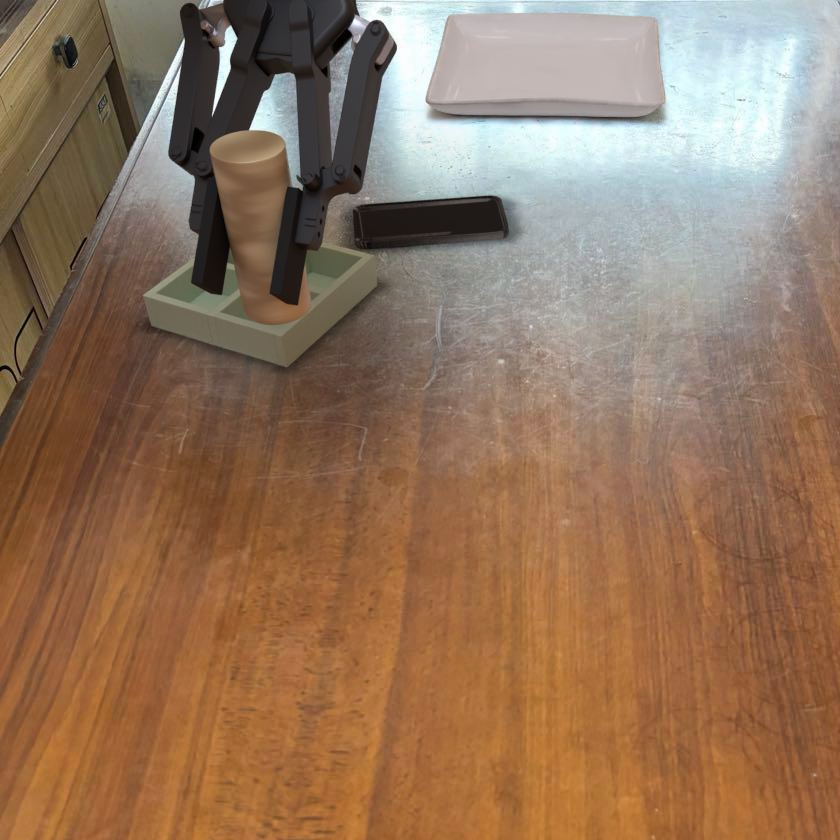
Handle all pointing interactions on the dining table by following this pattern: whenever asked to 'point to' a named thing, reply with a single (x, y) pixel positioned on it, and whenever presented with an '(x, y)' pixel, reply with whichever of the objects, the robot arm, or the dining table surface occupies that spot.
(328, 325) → the grid
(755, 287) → the dining table surface
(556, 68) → the square plate
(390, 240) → the phone
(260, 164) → the tan wooden cylinder
